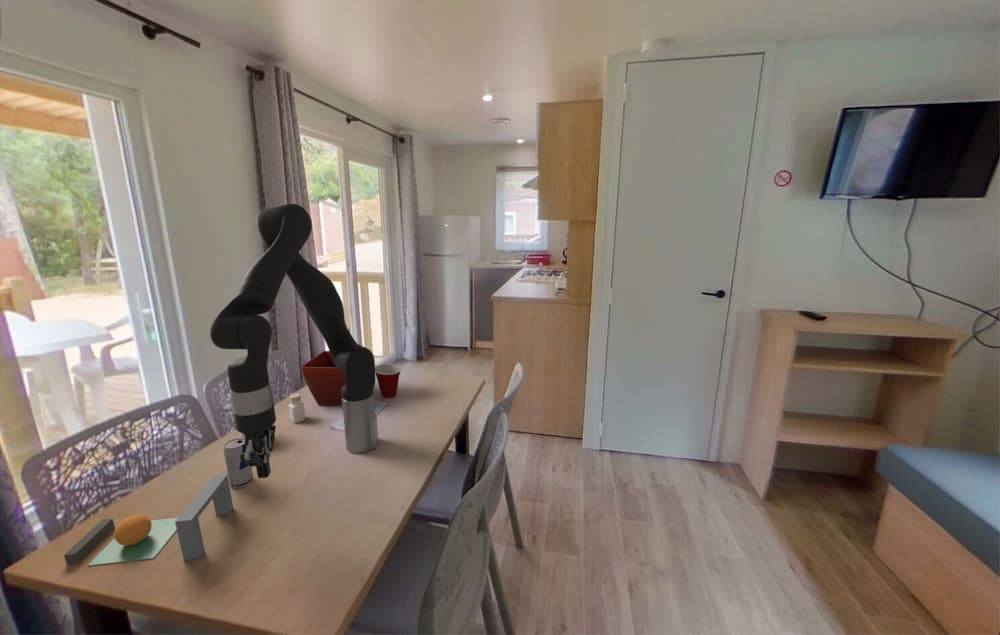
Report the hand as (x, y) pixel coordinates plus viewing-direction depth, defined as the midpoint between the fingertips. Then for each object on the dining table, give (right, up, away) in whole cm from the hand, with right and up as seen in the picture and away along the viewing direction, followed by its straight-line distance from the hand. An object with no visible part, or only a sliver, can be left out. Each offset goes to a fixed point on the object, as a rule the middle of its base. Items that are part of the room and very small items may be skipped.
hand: (264, 475), depth 90 cm
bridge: (-13, -13, +1) cm, 19 cm away
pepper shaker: (-19, -1, +51) cm, 55 cm away
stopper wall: (-36, -14, -3) cm, 39 cm away
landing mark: (-27, -14, -1) cm, 30 cm away
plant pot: (-10, +3, +69) cm, 69 cm away
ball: (-28, -11, -2) cm, 30 cm away
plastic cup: (+8, +4, +72) cm, 72 cm away
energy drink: (-17, -9, +18) cm, 27 cm away
